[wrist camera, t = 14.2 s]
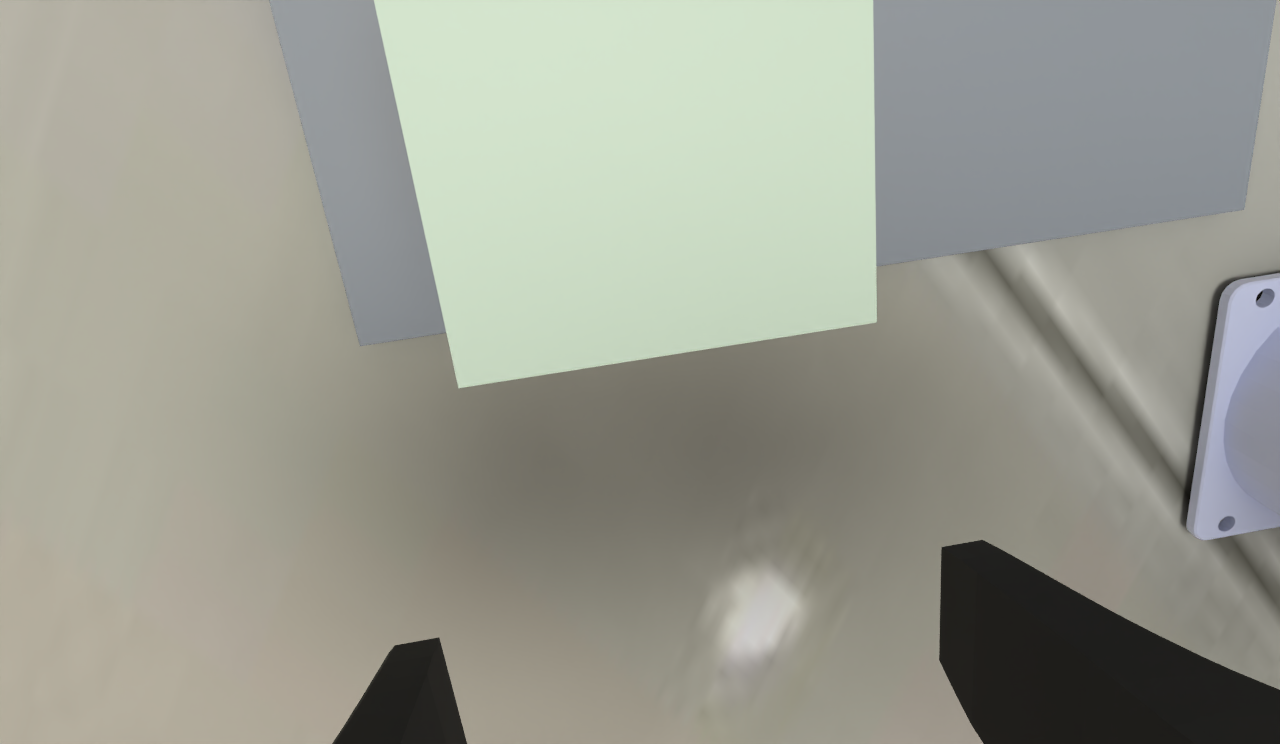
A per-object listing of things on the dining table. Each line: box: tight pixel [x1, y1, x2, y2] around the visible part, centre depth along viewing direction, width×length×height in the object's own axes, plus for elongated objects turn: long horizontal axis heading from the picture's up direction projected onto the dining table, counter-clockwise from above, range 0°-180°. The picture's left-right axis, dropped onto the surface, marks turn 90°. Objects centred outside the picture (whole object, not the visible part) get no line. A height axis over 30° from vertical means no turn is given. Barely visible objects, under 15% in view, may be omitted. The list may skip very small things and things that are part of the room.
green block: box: [374, 0, 877, 388], centre depth 11 cm, size 5×5×5 cm
